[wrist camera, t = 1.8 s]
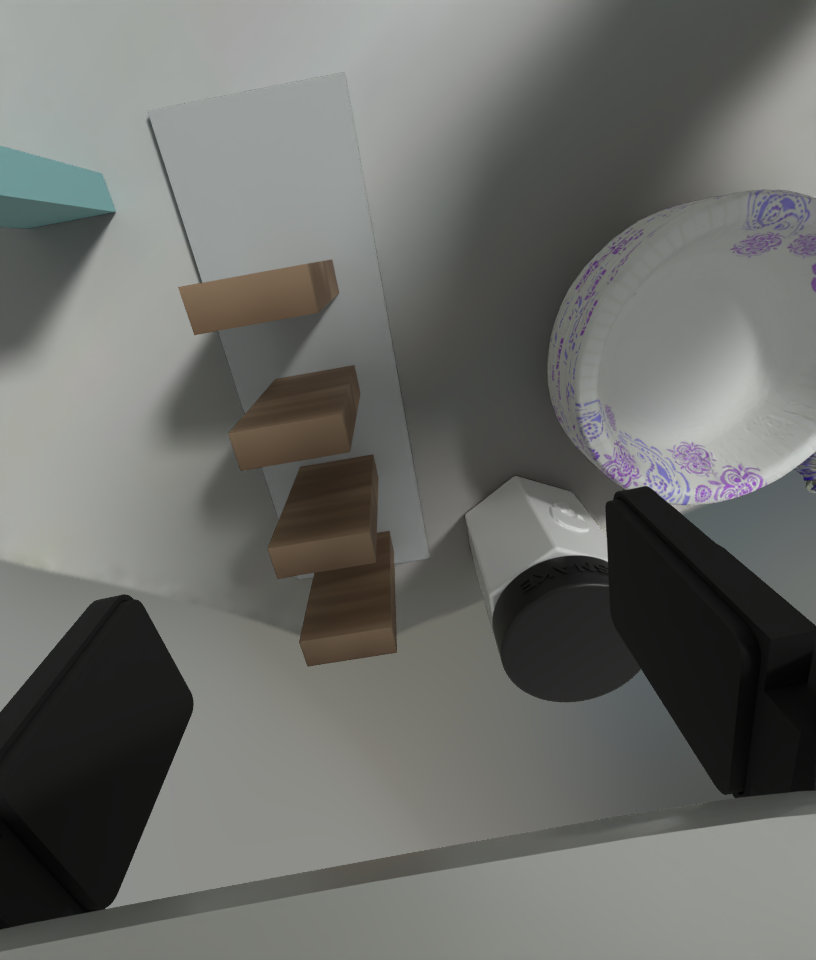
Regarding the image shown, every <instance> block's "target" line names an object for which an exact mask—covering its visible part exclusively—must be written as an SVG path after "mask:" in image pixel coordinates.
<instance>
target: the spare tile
mask: <svg viewBox="0 0 816 960" xmlns="http://www.w3.org/2000/svg"><path fill="white" fill-rule="evenodd" d="M113 212H116V210H115V208H114V205H113V202H112V199H111V197H110V194H109V191H108V189H107V186H106V183H105V180H104V178H103V175H102V173H98V172H95V171H91V170H87V169H84V168H80V167H76V166H73V165H69V164H65V163H62V162H58V161H54V160H51V159H47V158H43V157H40V156H36V155H32V154H29V153H25V152H21V151H18V150H14V149H10V148H7V147H3V146H0V227H8V228H24V229H28V228H34V227H39V226H44V225H49V224H55V223H60V222H65V221H71V220H76V219H81V218H87V217H92V216H97V215H102V214H108V213H113Z"/></svg>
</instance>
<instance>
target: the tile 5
mask: <svg viewBox="0 0 816 960" xmlns="http://www.w3.org/2000/svg"><path fill="white" fill-rule="evenodd" d="M299 643H300V646H301V649H302V652H303V654H304V657H305V660H306V663H307V666H314V665H320V664H326V663H332V662H339V661H346V660H352V659H358V658H365V657H371V656H378V655H383V654H390V653H396V652H397V644H396V606H395V570H394V549H393V545H392V540H391V535H390V531H385V532H379V533H377V545H376V563H372V564H365V565H359V566H353V567H347V568H341V569H335V570H329V571H322V572H316V573H314V577H313V582H312V586H311V591H310V595H309V600H308V604H307V609H306V613H305V618H304V622H303V627H302V631H301V636H300V641H299Z"/></svg>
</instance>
